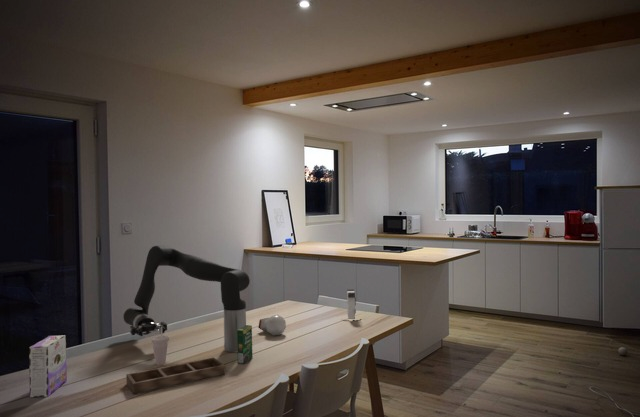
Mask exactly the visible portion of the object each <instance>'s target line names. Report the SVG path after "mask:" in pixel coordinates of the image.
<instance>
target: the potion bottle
mask: <svg viewBox="0 0 640 417" xmlns="http://www.w3.org/2000/svg"><path fill="white" fill-rule="evenodd" d="M286 328H287V322H286V320H285V319H284V317H283V316H281V315H279V314H275V315H274V314H273V315H272V316H269V317H265V318H261V319H259V322H258V329H260V330H261V331H263V332H266V333H267V332H268V334H270V335H272V336H280V335H282V334H283V333H285V330H286Z"/></svg>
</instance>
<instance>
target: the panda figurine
mask: <svg viewBox="0 0 640 417" xmlns="http://www.w3.org/2000/svg"><path fill="white" fill-rule="evenodd" d="M346 300H347V301H346V304H347V316H348V319H355V316H356V313H357V312H356V306H357V305H356V304H357V303H356V292H355V290H354V289H350V288H349V289H348V288H347V291H346Z"/></svg>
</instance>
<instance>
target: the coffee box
mask: <svg viewBox="0 0 640 417" xmlns="http://www.w3.org/2000/svg"><path fill="white" fill-rule="evenodd" d="M237 344H238V352H237V364H238V365H245V364H246V363H247V362H249V361H250V360H251V359H253V326H252V325H250V324H249V325H247V324H246V326H244V327H242V328H241V329H239V330H237Z"/></svg>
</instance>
